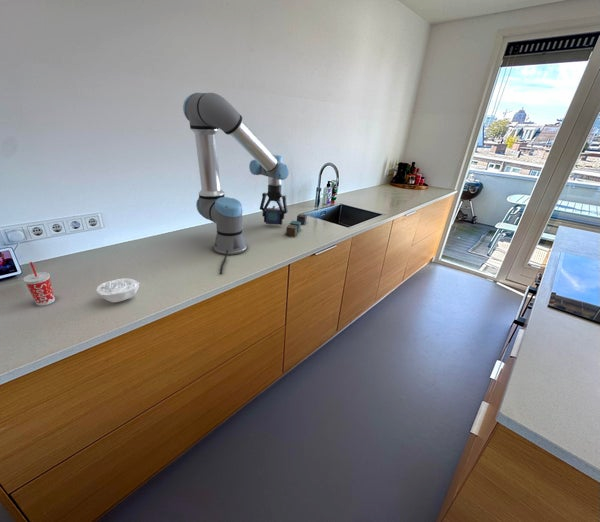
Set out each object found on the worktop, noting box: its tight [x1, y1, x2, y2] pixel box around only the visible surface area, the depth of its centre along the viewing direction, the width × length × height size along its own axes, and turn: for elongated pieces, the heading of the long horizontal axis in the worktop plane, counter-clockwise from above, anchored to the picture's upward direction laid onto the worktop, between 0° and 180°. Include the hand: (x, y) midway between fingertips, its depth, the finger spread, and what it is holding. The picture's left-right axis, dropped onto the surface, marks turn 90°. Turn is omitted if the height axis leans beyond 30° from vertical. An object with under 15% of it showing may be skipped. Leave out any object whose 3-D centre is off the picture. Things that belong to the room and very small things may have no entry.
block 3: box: [296, 213, 308, 226], centre depth 178 cm, size 5×5×5 cm
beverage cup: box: [22, 261, 56, 307], centre depth 88 cm, size 6×6×14 cm
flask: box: [265, 205, 281, 226], centre depth 168 cm, size 9×3×11 cm, turn 88°
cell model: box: [96, 277, 140, 304], centre depth 94 cm, size 10×12×7 cm
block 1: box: [289, 220, 302, 234], centre depth 165 cm, size 5×5×5 cm
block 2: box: [285, 224, 298, 238], centre depth 158 cm, size 5×5×5 cm
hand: (273, 222), depth 170 cm, fingers closed on flask, 9 cm apart
